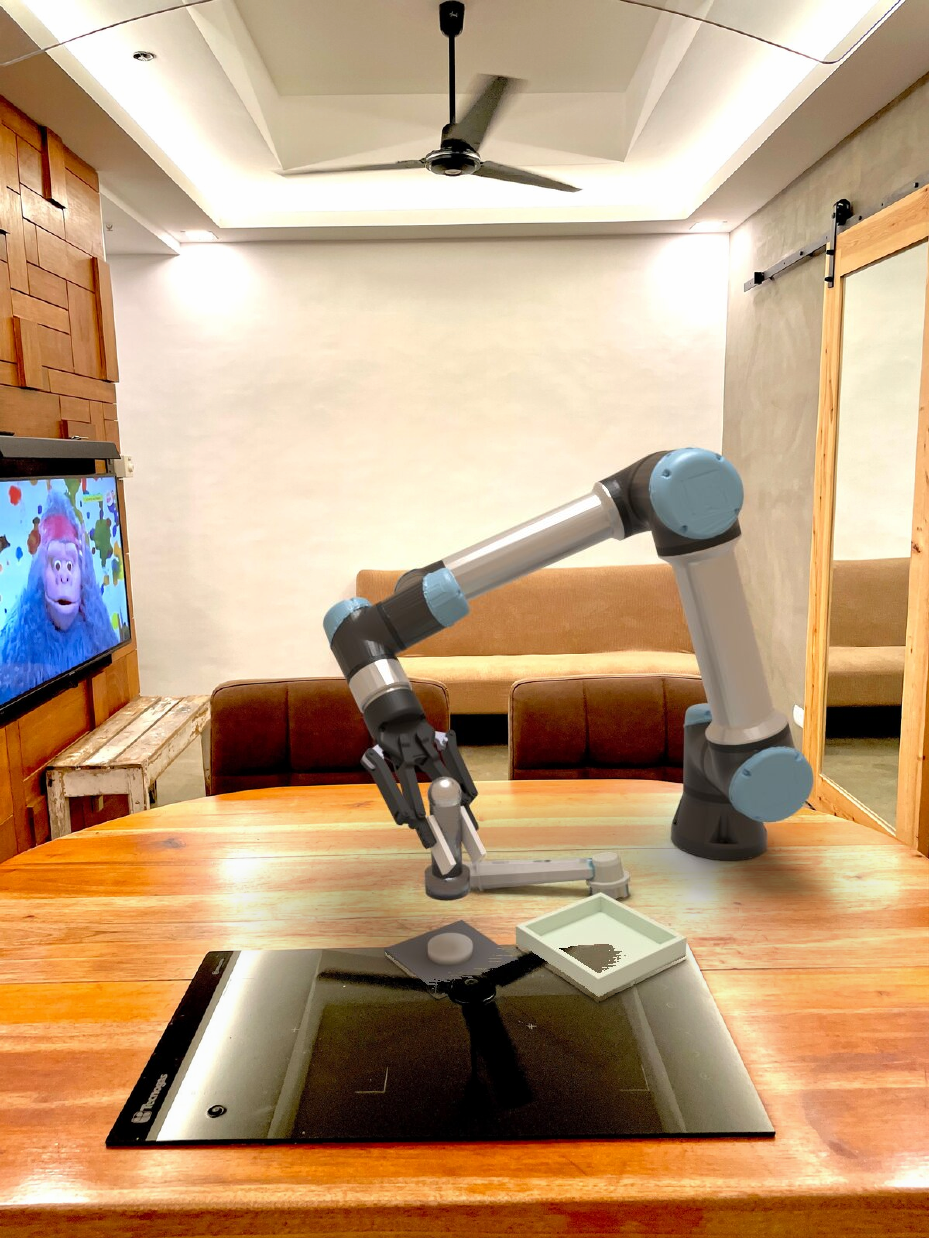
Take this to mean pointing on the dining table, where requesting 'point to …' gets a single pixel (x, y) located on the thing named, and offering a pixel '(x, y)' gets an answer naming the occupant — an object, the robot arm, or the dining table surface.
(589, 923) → the tray
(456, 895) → the domed glass cylinder
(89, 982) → the dining table surface
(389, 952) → the stud plate
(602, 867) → the grey long rounded piece
